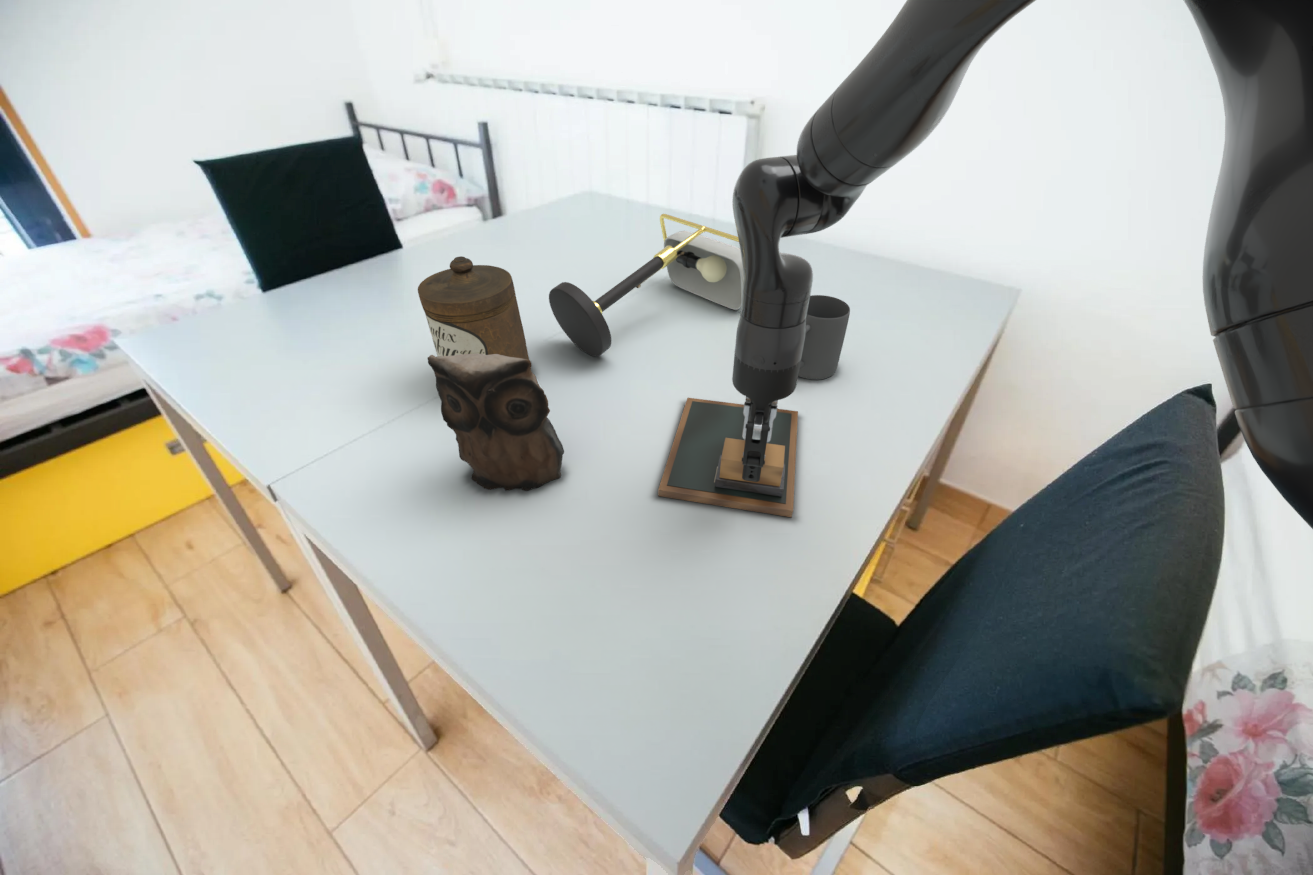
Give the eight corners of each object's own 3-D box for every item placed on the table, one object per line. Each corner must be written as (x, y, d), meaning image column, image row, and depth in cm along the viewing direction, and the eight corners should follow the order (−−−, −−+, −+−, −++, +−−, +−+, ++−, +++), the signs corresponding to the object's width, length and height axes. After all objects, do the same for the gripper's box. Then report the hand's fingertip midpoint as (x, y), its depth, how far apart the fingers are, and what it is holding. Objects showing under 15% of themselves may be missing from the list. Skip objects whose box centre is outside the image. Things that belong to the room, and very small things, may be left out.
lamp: (643, 412, 102) (774, 298, 117) (613, 316, 85) (771, 196, 100) (558, 359, 117) (684, 264, 131) (519, 268, 100) (668, 170, 114)
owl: (571, 479, 77) (553, 357, 64) (487, 518, 71) (448, 394, 58) (533, 433, 85) (509, 317, 72) (454, 465, 79) (413, 346, 66)
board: (796, 417, 87) (798, 410, 86) (791, 517, 71) (793, 509, 70) (687, 403, 91) (687, 396, 90) (658, 496, 74) (658, 488, 73)
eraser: (783, 471, 75) (789, 444, 72) (781, 497, 72) (787, 469, 69) (719, 462, 77) (722, 435, 74) (714, 486, 73) (716, 459, 70)
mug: (800, 348, 104) (811, 290, 96) (845, 365, 99) (860, 304, 92) (762, 379, 96) (771, 317, 88) (809, 398, 91) (822, 335, 84)
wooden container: (430, 382, 96) (390, 261, 82) (497, 348, 105) (471, 234, 91) (481, 413, 89) (446, 287, 75) (548, 374, 98) (529, 255, 84)
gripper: (800, 388, 55) (779, 499, 65) (803, 324, 66) (784, 428, 76) (727, 380, 57) (718, 490, 67) (741, 318, 67) (731, 422, 78)
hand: (753, 457), depth 71 cm, fingers open, 8 cm apart
